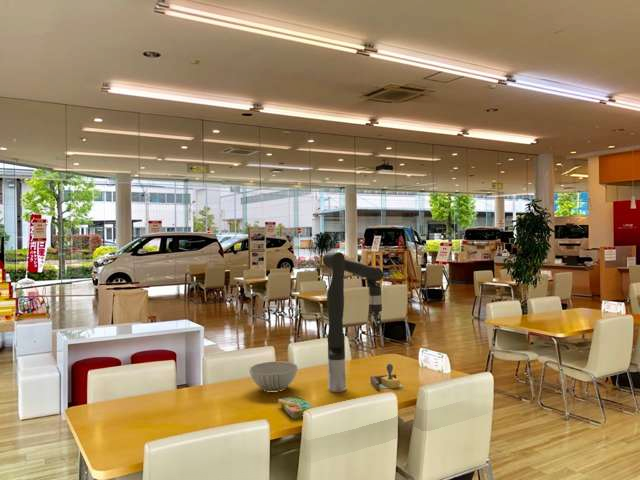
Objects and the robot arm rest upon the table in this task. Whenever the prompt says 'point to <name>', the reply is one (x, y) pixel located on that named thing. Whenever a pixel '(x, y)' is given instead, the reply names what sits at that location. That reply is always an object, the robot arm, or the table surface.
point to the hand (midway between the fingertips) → (376, 330)
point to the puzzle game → (295, 406)
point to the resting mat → (387, 387)
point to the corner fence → (378, 380)
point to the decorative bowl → (273, 375)
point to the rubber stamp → (390, 379)
